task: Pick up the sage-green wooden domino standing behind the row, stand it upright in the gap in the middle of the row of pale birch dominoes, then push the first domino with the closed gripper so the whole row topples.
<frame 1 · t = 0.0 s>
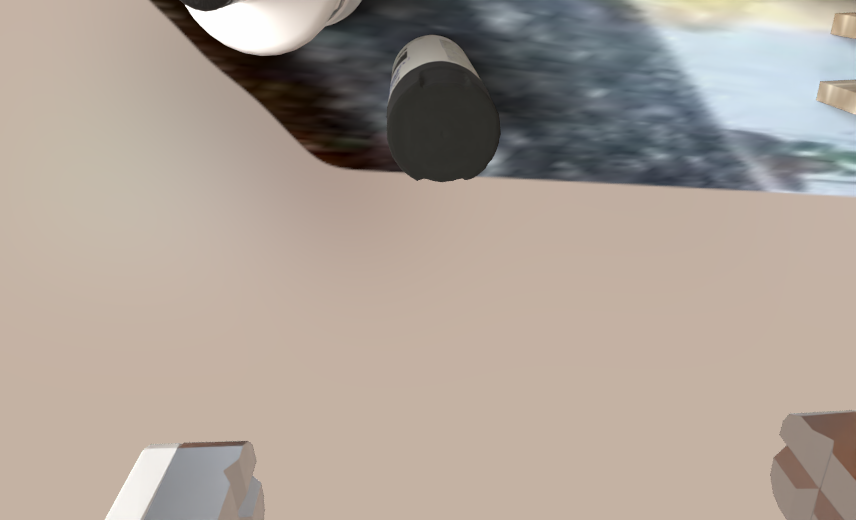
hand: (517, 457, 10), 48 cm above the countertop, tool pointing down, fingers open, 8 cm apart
domino 5: (846, 89, 55), on the countertop
spray can: (432, 74, 54), on the countertop
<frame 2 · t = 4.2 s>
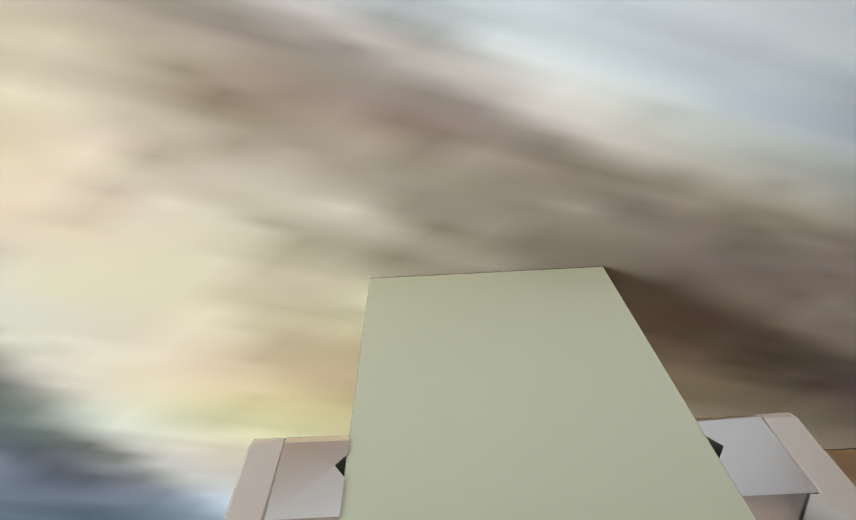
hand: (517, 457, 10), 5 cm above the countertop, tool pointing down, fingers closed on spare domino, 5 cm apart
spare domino: (486, 305, 14), on the countertop, touching gripper
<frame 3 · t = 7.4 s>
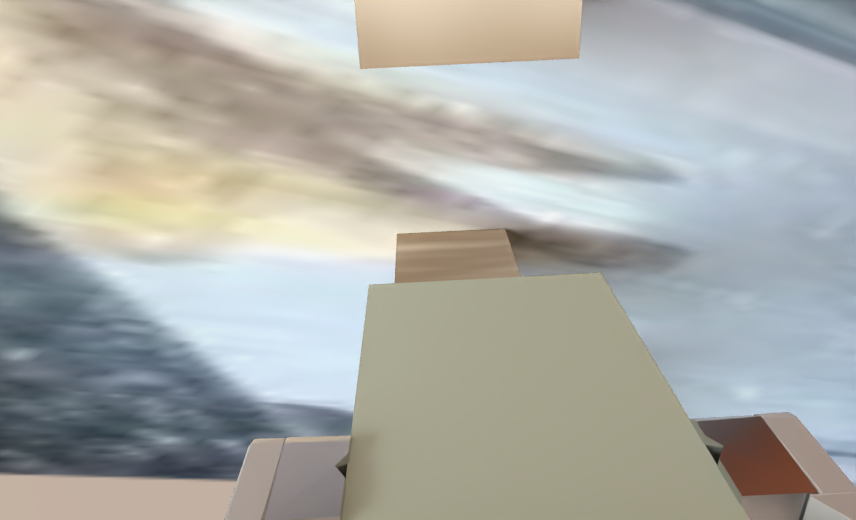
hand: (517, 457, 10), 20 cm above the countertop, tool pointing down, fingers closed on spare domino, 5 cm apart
domino 4: (451, 247, 30), on the countertop
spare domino: (485, 310, 14), point 15 cm above the countertop, touching gripper
when the fingers open (6 cm above the countertop, at t = 10.6 s): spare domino stays where it is, on the countertop.
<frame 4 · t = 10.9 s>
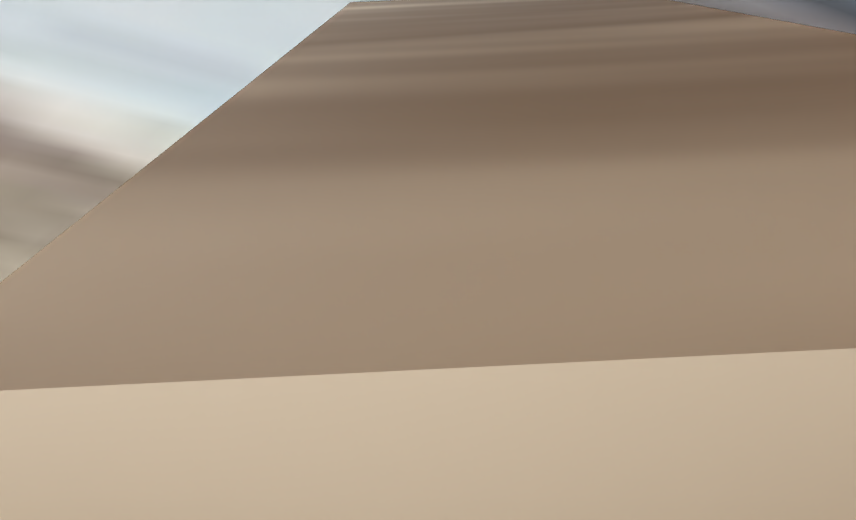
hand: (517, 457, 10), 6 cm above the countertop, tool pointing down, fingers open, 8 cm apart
domino 2: (481, 40, 13), on the countertop
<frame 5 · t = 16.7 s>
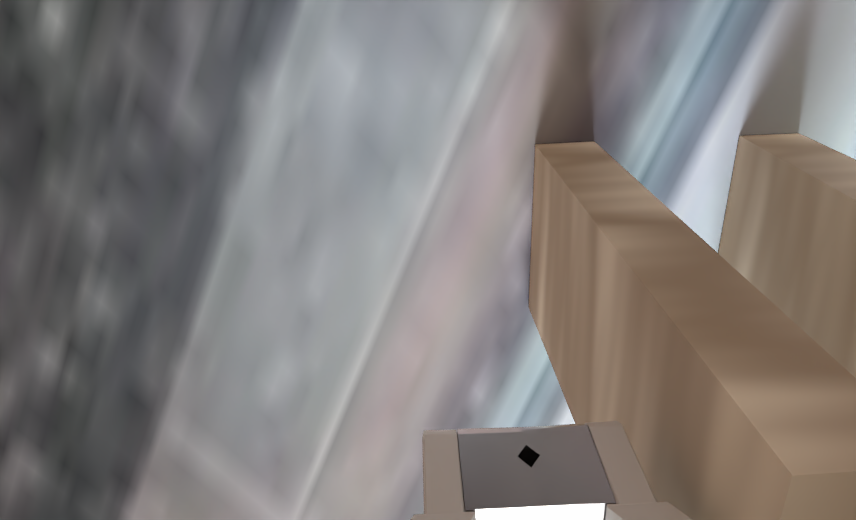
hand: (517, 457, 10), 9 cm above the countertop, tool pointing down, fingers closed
domino 1: (559, 229, 18), on the countertop, touching gripper
domino 2: (751, 220, 18), on the countertop
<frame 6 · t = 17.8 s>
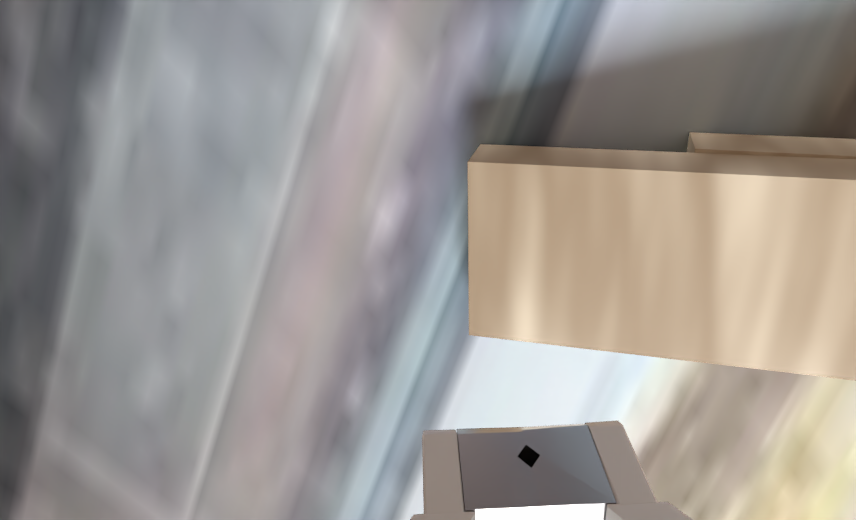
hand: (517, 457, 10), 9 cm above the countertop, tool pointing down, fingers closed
domino 1: (474, 241, 17), point 1 cm above the countertop, tilted 73°, touching domino 2
domino 2: (678, 230, 17), point 1 cm above the countertop, tilted 73°, touching domino 1, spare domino
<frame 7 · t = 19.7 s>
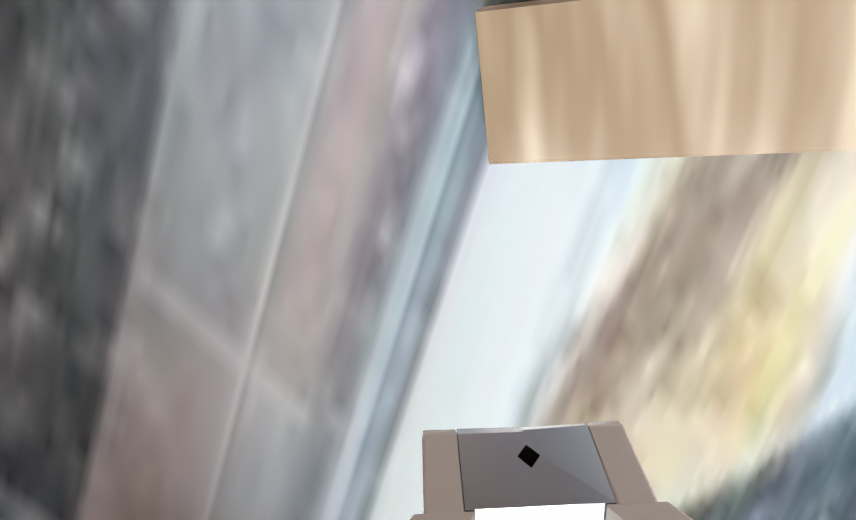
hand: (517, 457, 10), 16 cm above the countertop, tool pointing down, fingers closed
domino 1: (487, 86, 22), point 1 cm above the countertop, tilted 74°, touching domino 2
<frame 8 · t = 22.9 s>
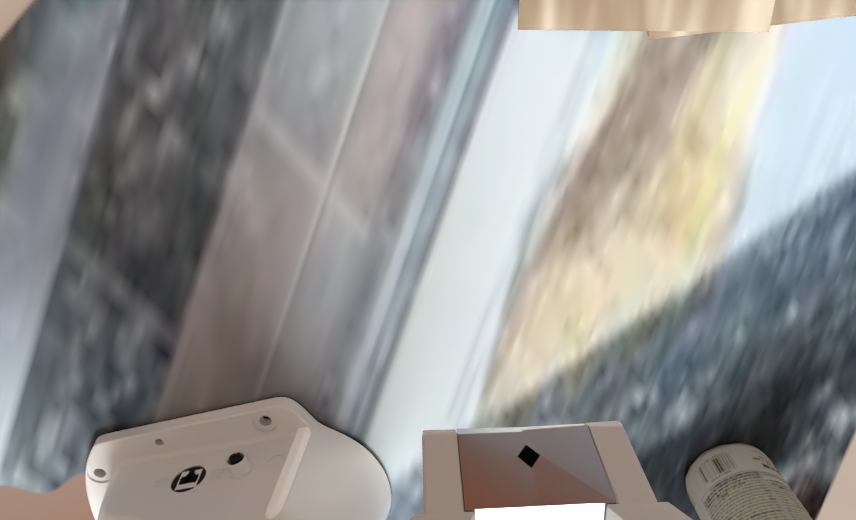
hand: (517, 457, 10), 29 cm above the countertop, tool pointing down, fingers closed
spray can: (724, 470, 49), on the countertop
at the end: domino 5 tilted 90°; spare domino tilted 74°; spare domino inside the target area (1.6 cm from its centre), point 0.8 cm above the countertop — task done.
